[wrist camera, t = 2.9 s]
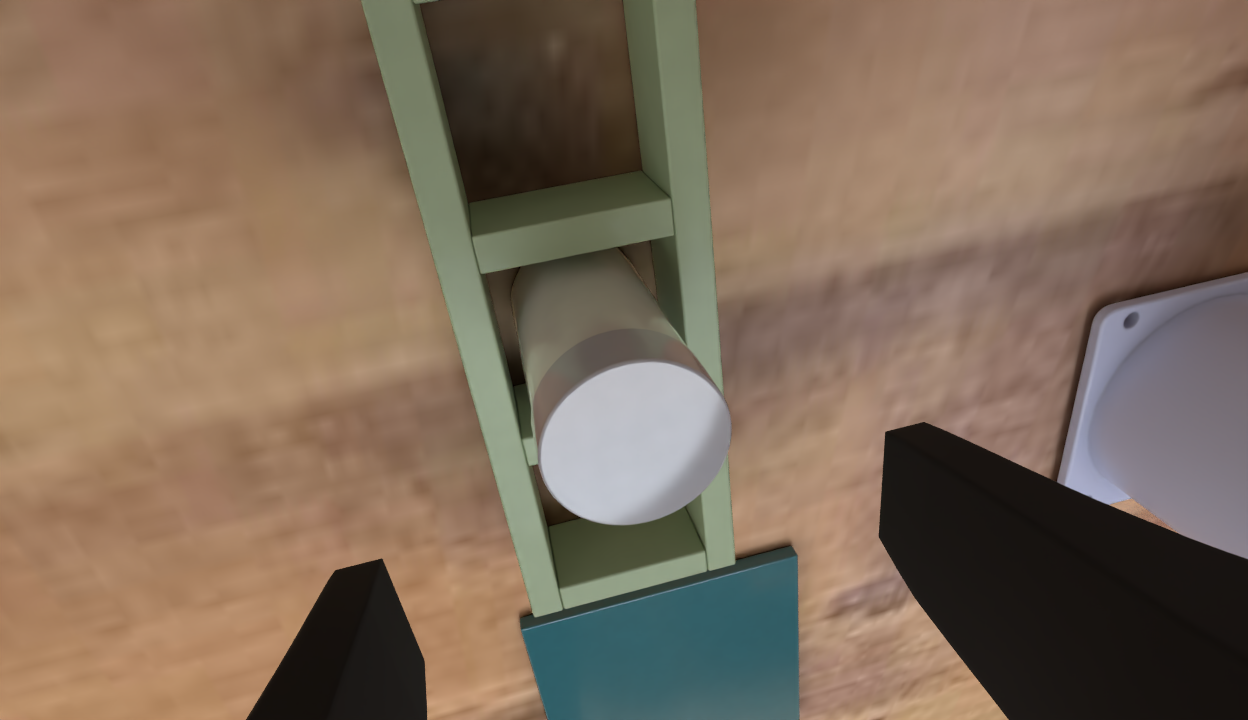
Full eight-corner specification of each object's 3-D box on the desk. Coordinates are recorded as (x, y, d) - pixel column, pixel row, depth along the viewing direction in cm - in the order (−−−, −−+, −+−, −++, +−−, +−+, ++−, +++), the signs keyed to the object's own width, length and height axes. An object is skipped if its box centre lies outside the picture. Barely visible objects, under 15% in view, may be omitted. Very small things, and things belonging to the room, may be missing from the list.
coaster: (791, 544, 23) (798, 555, 22) (794, 714, 27) (800, 726, 27) (518, 617, 22) (520, 630, 21) (567, 782, 26) (570, 795, 26)
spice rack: (652, -80, 14) (690, -93, 12) (707, 506, 21) (736, 564, 19) (364, -39, 13) (347, -45, 11) (525, 552, 21) (534, 618, 18)
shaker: (633, 220, 17) (727, 338, 11) (648, 343, 18) (737, 500, 13) (494, 248, 16) (519, 385, 11) (523, 370, 18) (557, 546, 12)
